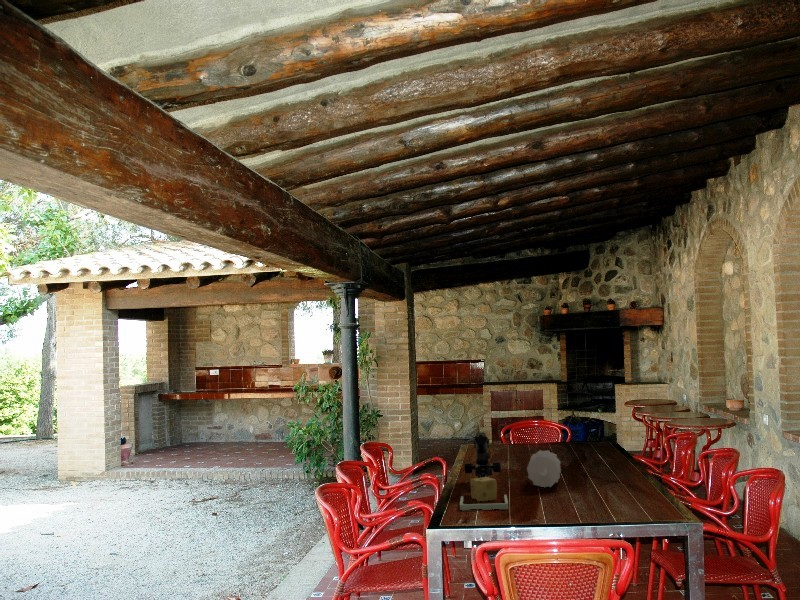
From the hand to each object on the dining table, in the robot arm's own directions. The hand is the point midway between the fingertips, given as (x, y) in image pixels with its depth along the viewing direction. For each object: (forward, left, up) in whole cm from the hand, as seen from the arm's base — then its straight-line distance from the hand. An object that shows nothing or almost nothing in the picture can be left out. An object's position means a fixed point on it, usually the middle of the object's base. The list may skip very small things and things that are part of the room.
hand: (483, 481), depth 361 cm
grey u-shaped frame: (+21, +10, -7) cm, 24 cm away
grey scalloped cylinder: (-32, +20, -7) cm, 39 cm away
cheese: (+9, +4, -7) cm, 12 cm away
